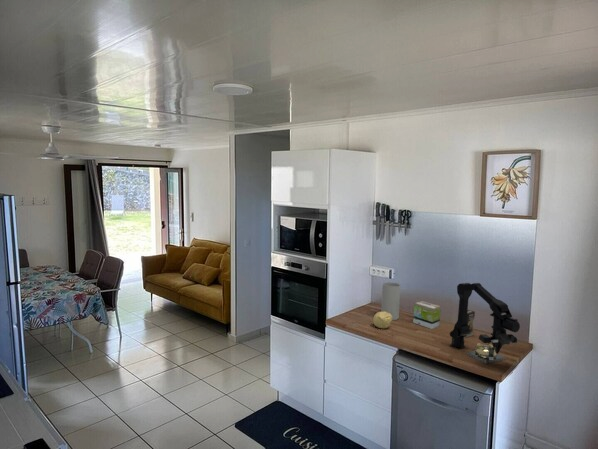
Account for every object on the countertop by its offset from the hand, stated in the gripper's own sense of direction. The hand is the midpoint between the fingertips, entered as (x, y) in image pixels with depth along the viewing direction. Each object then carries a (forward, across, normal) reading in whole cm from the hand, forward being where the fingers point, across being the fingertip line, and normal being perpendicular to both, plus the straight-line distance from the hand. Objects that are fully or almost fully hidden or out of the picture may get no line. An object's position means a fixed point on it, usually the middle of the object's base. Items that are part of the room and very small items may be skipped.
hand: (496, 353), depth 220 cm
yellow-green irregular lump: (+5, -1, +7) cm, 9 cm away
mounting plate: (+7, 0, +10) cm, 12 cm away
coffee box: (+7, +4, +44) cm, 45 cm away
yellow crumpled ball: (+7, -47, +59) cm, 75 cm away
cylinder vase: (+7, -36, +77) cm, 85 cm away
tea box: (+7, -14, +63) cm, 65 cm away
